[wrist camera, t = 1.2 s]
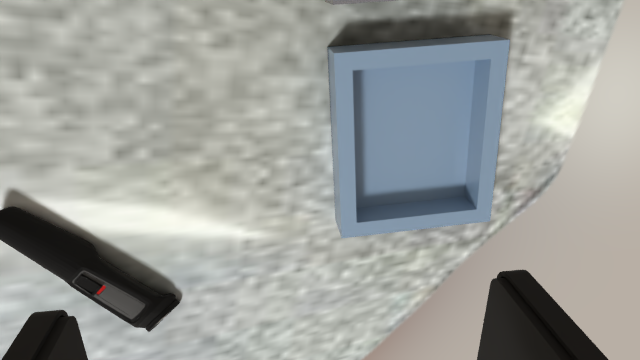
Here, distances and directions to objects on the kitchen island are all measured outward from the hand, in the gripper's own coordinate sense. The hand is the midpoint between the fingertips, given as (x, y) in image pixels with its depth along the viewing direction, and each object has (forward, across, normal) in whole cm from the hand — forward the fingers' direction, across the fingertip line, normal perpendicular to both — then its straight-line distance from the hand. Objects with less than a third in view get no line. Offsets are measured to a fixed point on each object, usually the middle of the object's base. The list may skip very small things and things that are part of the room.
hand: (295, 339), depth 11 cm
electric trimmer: (+26, +15, +14) cm, 33 cm away
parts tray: (+25, -11, +4) cm, 28 cm away
